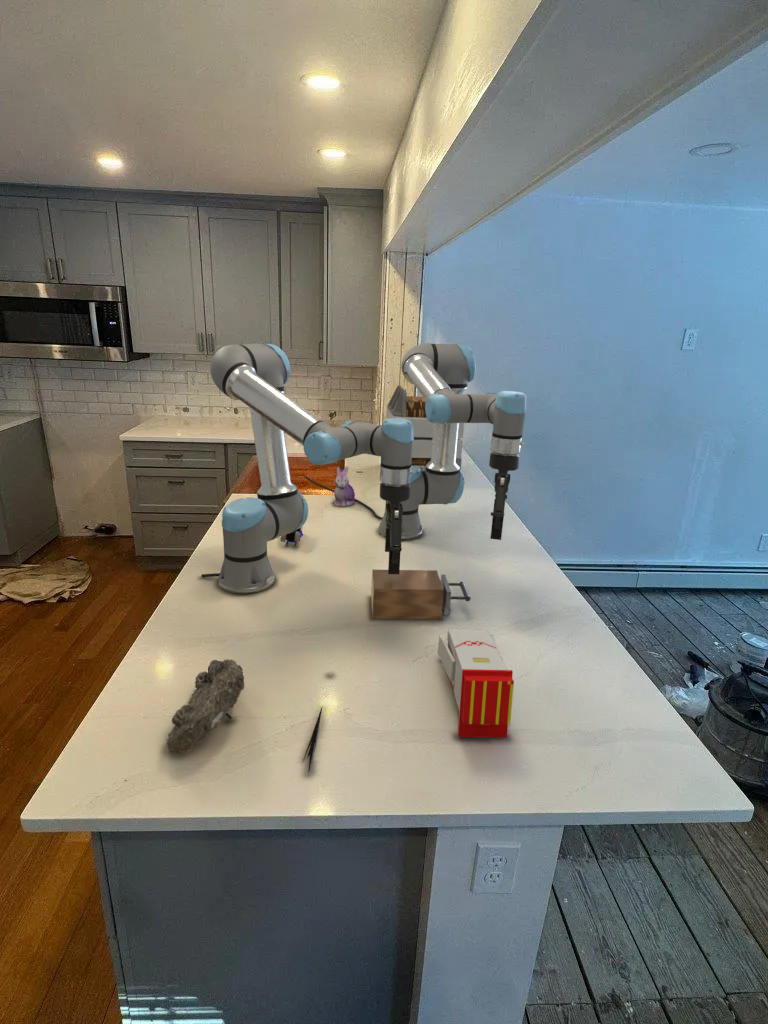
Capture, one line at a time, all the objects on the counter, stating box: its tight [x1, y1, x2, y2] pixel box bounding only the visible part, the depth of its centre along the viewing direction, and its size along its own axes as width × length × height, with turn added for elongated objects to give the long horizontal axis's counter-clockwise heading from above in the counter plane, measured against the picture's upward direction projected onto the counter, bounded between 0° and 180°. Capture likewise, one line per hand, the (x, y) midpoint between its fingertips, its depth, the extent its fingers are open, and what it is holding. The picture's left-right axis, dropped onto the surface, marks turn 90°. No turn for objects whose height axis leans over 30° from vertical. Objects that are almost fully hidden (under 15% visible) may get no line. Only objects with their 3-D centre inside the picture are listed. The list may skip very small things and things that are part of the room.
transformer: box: [385, 384, 465, 472], centre depth 268 cm, size 34×33×41 cm
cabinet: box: [370, 569, 443, 620], centre depth 149 cm, size 18×11×8 cm, turn 93°
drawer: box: [440, 574, 472, 616], centre depth 149 cm, size 22×10×7 cm, turn 93°
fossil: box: [166, 658, 245, 754], centre depth 106 cm, size 22×10×15 cm
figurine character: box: [280, 526, 304, 547], centre depth 189 cm, size 7×8×15 cm
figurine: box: [333, 466, 356, 507], centre depth 225 cm, size 9×10×15 cm
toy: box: [437, 628, 515, 738], centre depth 117 cm, size 12×13×30 cm
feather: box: [301, 673, 332, 771], centre depth 108 cm, size 2×28×2 cm
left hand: (391, 562), depth 146 cm, fingers open, 13 cm apart
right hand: (496, 529), depth 153 cm, fingers open, 13 cm apart
